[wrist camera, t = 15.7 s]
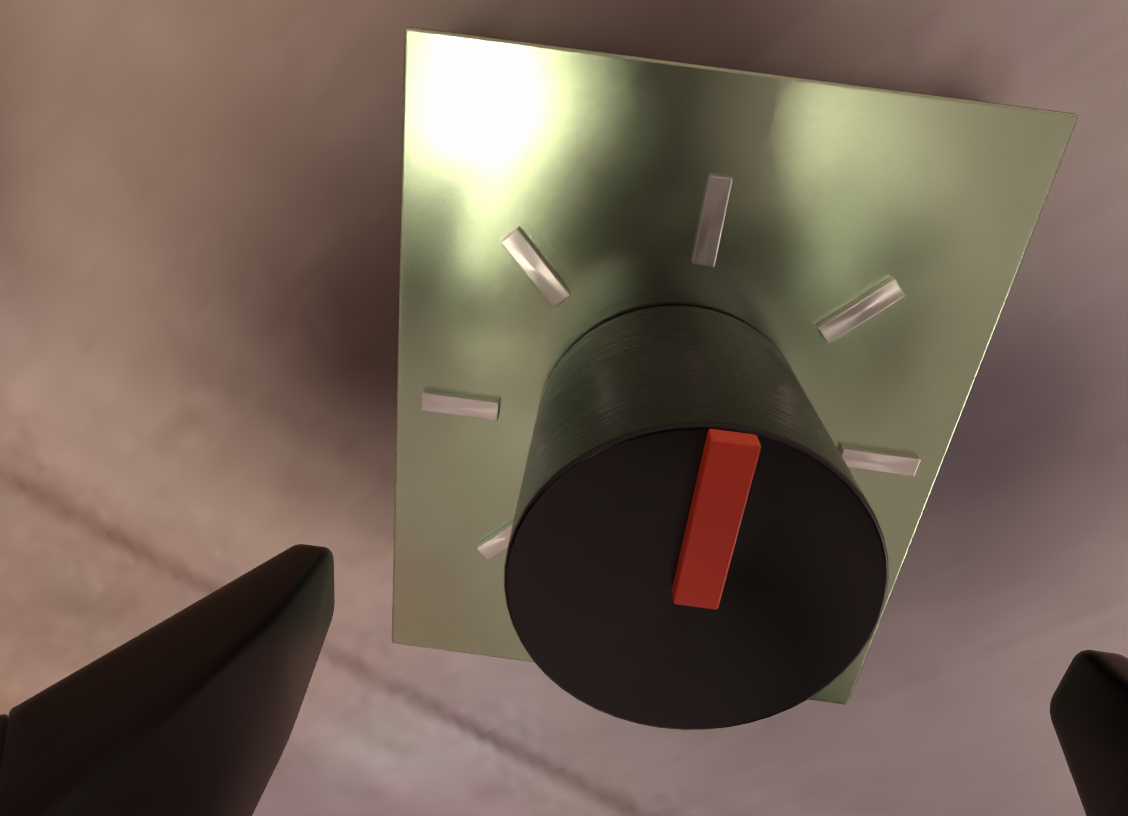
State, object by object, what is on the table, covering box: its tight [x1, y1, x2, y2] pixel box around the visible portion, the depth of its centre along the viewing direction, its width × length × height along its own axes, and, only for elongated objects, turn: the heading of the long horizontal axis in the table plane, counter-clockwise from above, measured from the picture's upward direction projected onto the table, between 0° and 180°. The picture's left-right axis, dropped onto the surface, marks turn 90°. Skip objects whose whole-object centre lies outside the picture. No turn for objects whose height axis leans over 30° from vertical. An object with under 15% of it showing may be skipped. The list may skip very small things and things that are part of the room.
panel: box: [392, 27, 1078, 704], centre depth 15 cm, size 12×10×3 cm
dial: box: [504, 306, 889, 730], centre depth 11 cm, size 5×5×5 cm
